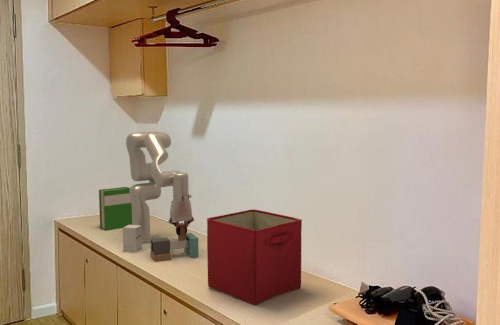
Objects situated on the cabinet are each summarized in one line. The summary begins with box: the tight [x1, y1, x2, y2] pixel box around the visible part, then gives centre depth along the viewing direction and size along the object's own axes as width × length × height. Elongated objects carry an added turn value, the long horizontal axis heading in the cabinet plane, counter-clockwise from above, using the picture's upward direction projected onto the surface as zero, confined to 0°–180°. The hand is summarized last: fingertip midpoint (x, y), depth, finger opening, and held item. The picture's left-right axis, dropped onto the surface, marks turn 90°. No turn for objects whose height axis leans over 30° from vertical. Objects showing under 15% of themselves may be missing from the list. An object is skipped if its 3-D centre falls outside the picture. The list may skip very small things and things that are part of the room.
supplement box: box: [122, 225, 143, 253], centre depth 265 cm, size 7×7×13 cm
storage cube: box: [206, 208, 303, 306], centre depth 207 cm, size 32×28×29 cm
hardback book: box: [98, 186, 132, 232], centre depth 316 cm, size 18×7×24 cm, turn 130°
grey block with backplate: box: [149, 236, 172, 263], centre depth 251 cm, size 10×8×9 cm
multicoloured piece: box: [169, 222, 189, 251], centre depth 253 cm, size 4×14×12 cm, turn 113°
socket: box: [183, 232, 199, 259], centre depth 257 cm, size 12×4×10 cm, turn 23°
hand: (181, 234), depth 254 cm, fingers closed on multicoloured piece, 2 cm apart
